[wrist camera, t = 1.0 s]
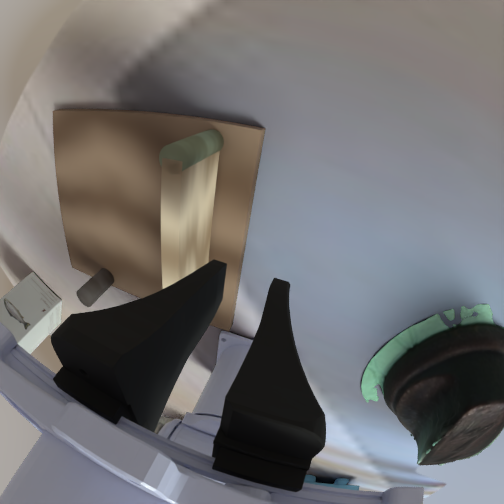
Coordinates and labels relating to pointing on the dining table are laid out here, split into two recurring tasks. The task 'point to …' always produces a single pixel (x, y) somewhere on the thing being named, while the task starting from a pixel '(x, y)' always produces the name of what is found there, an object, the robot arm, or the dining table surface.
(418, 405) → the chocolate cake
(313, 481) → the teakettle
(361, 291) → the dining table surface
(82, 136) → the board
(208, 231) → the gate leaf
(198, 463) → the robot arm
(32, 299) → the supplement box
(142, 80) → the dining table surface
